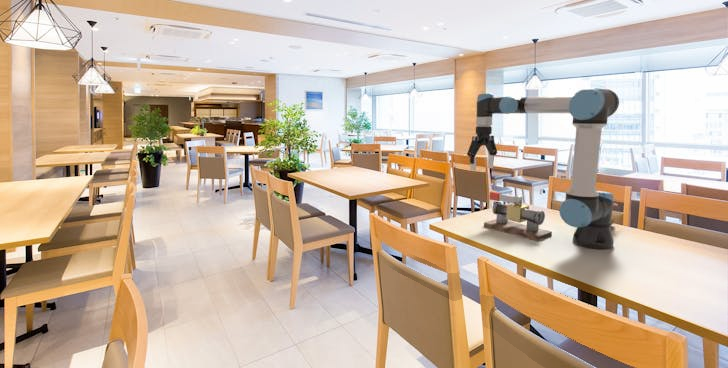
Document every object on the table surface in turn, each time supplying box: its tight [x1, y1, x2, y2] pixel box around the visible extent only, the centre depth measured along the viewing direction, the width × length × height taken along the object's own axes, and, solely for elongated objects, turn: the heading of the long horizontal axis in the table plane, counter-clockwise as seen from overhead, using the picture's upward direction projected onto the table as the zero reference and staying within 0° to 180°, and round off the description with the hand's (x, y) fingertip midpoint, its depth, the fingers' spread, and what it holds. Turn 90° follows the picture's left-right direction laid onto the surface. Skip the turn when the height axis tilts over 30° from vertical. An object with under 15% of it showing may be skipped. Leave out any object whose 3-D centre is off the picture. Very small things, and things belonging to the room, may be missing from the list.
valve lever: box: [489, 191, 524, 206], centre depth 188 cm, size 17×4×4 cm, turn 37°
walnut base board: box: [483, 218, 553, 242], centre depth 186 cm, size 28×12×2 cm, turn 37°
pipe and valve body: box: [492, 201, 546, 233], centre depth 184 cm, size 23×7×10 cm, turn 37°
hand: (481, 169), depth 194 cm, fingers open, 13 cm apart
